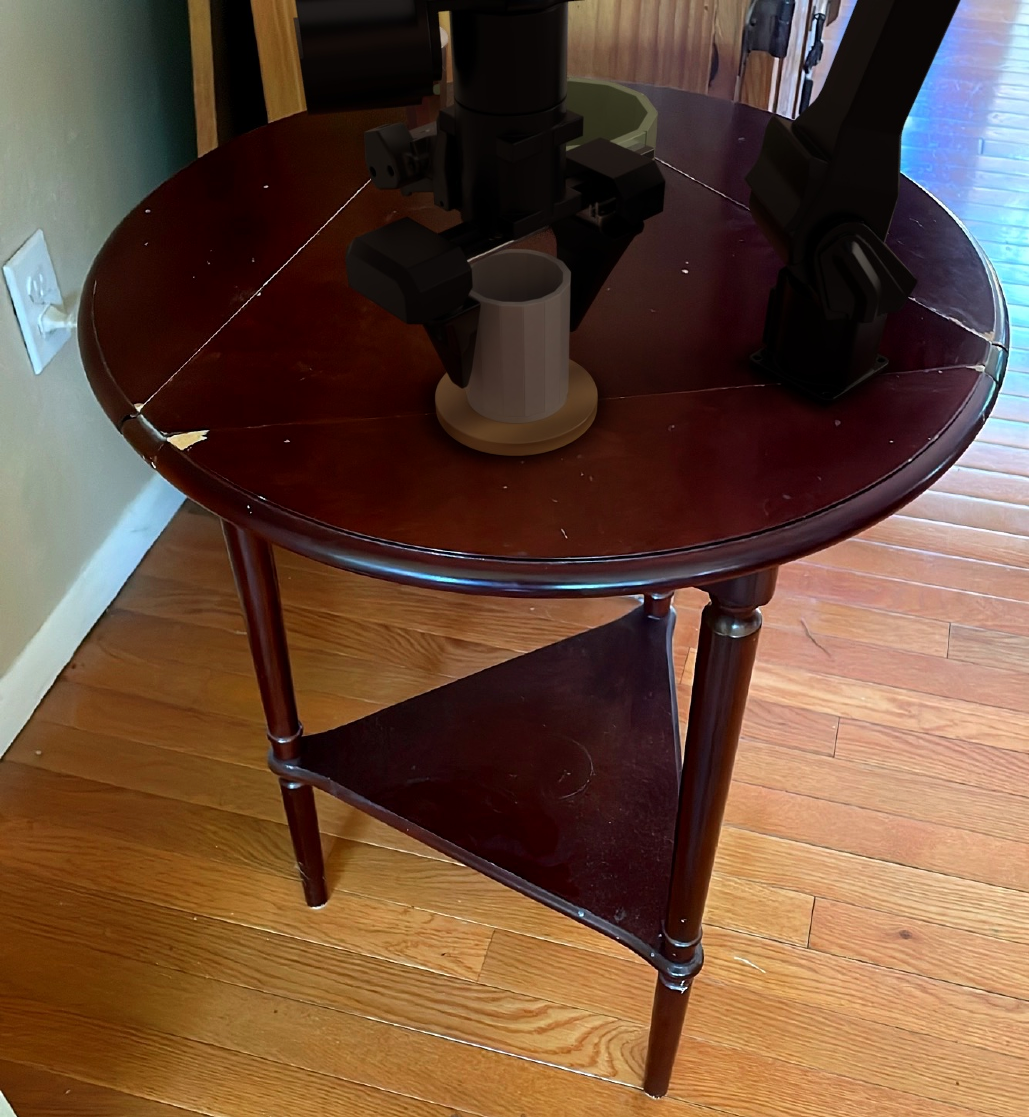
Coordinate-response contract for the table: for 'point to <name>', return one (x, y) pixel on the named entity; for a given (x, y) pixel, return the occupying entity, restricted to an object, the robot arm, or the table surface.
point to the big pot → (613, 115)
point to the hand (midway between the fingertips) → (515, 356)
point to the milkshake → (434, 103)
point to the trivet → (518, 436)
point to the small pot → (520, 336)
